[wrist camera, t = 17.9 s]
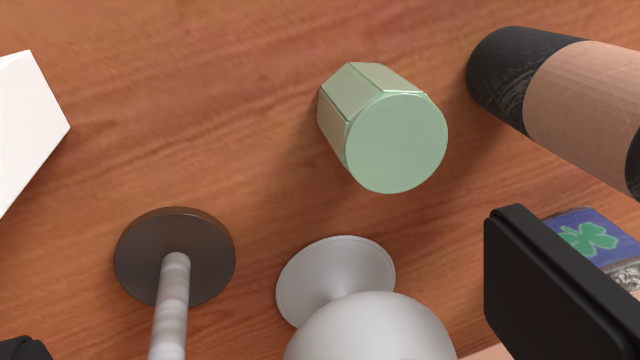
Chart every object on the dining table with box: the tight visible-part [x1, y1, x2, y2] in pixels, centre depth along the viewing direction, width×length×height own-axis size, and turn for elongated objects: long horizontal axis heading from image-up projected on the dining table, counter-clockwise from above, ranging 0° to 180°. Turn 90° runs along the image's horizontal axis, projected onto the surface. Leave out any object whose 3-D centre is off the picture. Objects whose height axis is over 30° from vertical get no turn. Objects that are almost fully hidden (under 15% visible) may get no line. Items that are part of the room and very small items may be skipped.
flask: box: [541, 206, 640, 296], centre depth 44 cm, size 9×3×11 cm, turn 104°
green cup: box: [316, 62, 448, 194], centre depth 35 cm, size 7×7×9 cm
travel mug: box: [466, 26, 640, 203], centre depth 31 cm, size 8×8×20 cm
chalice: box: [275, 236, 458, 360], centre depth 40 cm, size 14×14×15 cm
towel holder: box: [114, 207, 235, 360], centre depth 35 cm, size 10×10×14 cm
